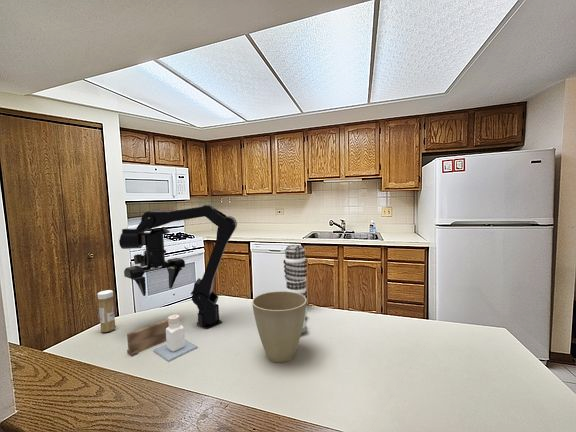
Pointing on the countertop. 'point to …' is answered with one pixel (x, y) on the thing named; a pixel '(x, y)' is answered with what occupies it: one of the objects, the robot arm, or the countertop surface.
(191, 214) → the robot arm
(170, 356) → the slate coaster
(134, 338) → the walnut screen
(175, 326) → the pepper shaker
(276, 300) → the plant pot
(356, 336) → the countertop surface
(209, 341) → the countertop surface
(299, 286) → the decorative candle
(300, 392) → the countertop surface
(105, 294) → the spice jar
